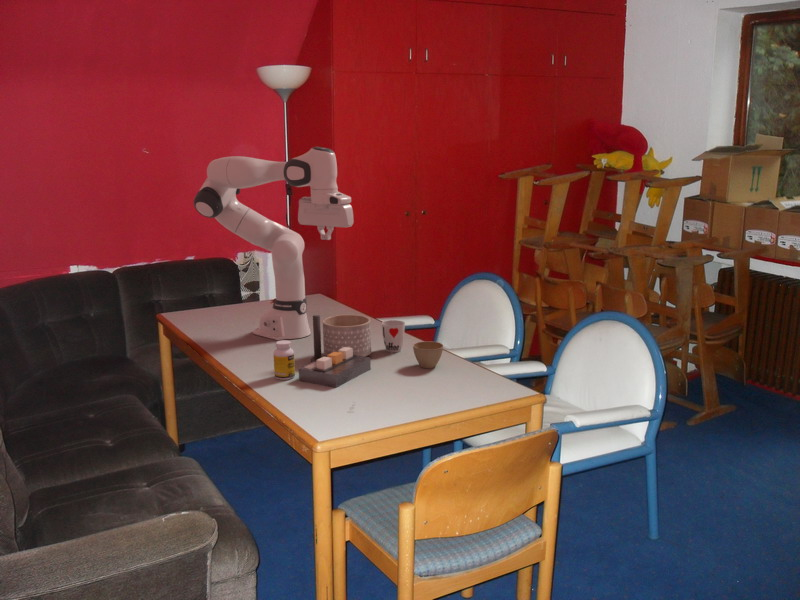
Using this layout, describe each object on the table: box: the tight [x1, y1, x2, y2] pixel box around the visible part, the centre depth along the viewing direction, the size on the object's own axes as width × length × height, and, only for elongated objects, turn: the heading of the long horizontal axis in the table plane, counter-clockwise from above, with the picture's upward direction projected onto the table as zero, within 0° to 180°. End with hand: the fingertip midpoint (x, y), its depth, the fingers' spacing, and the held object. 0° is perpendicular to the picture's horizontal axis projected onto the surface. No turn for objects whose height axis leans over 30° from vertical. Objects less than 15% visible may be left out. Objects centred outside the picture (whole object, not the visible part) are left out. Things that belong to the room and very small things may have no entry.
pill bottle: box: [273, 339, 296, 381], centre depth 239 cm, size 6×6×12 cm
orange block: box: [328, 352, 343, 364], centre depth 241 cm, size 3×4×3 cm
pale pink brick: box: [338, 347, 353, 359], centre depth 246 cm, size 3×4×3 cm
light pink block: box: [316, 356, 332, 370], centre depth 236 cm, size 3×4×3 cm
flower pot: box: [412, 340, 444, 369], centre depth 249 cm, size 10×10×7 cm
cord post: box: [310, 314, 323, 363], centre depth 254 cm, size 5×5×16 cm
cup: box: [381, 319, 406, 353], centre depth 267 cm, size 8×8×10 cm
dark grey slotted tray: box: [298, 355, 372, 388], centre depth 242 cm, size 14×20×4 cm
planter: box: [322, 314, 372, 357], centre depth 261 cm, size 16×16×13 cm
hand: (325, 239), depth 250 cm, fingers closed
